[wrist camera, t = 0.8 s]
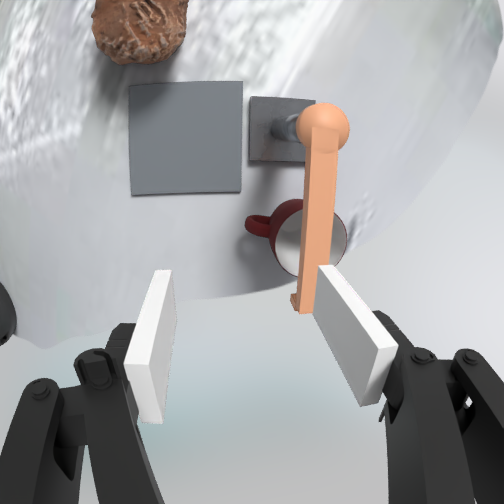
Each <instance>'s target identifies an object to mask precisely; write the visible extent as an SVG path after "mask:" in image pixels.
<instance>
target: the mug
mask: <svg viewBox="0 0 504 504" xmlns="http://www.w3.org/2000/svg"><path fill="white" fill-rule="evenodd" d="M302 215H303V199H292V200H288V201H286V202H284V203H282V204H280V205H279V206H278V207H277V208H276V209H275V211H274V212H273V214H272V215H271V217H267V216H261V215H250V216H248V217H247V218H246V221H245V228H246V230H247V231H248V232H250V233H251V234H254V235H256V236H260V237H266V238H269V241H270V245H271V248H272V251H273V253H274V255H275V257H276V259H277V261H278V262H279V264H280V265H281V267H282V268H283V269H284V270H285V271H286V272H288V273H289V274H291V275H293V276H296V277H298V270H299V258H300V244H301V230H302ZM346 245H347V233H346V229H345V226H344V224H343V222H342V220H341V219H340V218H339V217H338V215H336V214H335V213H334V216H333V227H332V237H331V247H330V256H329V265H333V266H334V267H335V266H336V265H337V264H338V263H339V261H340V260H341V258H342V257H343V255H344V252H345V249H346Z"/></svg>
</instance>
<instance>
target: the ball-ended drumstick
mask: <svg viewBox="0 0 504 504" xmlns="http://www.w3.org/2000/svg"><path fill="white" fill-rule="evenodd" d="M349 131H350V128H349V122H348V119H347V117H346V115H345V114H344V112H343V111H342V110H341V109H340V108H338V107H337V106H335V105H333V104H329V103H319V104H315V105H311V106H308V107H307V108H305V109H304V110H303V111H302V112H301V113H300V114H299V116H298V118H297V121H296V133H297V136H298V139H299V140H300V142H301V143H302V144H303V145H304V146H305V147H306V158H305V179H304V198H303V215H302V230H301V244H300V258H299V270H298V282H297V293H296V294H291V298H290V301H291V304H292V306H293V308H294V310H295V311H298V312H299V314H306V313H313V307H314V298H315V290H316V281H317V272H318V265H329V256H330V247H331V237H332V227H333V216H334V204H335V192H336V178H337V161H338V150H339V149H340V148H342V147H343V146H344V144H345V143H346V141H347V139H348V137H349Z"/></svg>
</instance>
